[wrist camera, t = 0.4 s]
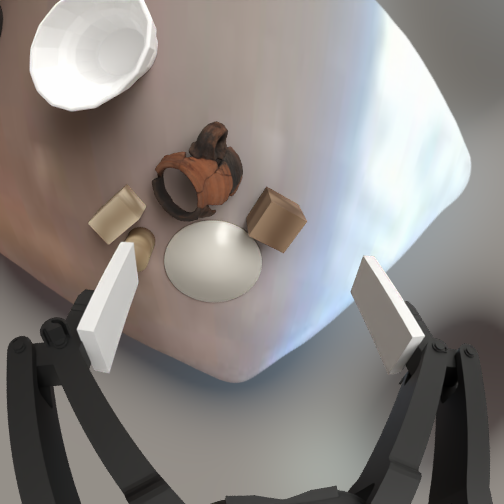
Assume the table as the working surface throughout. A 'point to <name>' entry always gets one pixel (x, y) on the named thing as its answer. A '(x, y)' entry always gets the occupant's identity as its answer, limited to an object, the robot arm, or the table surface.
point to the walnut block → (275, 220)
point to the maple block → (117, 214)
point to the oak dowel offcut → (141, 246)
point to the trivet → (213, 261)
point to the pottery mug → (202, 173)
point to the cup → (91, 51)
